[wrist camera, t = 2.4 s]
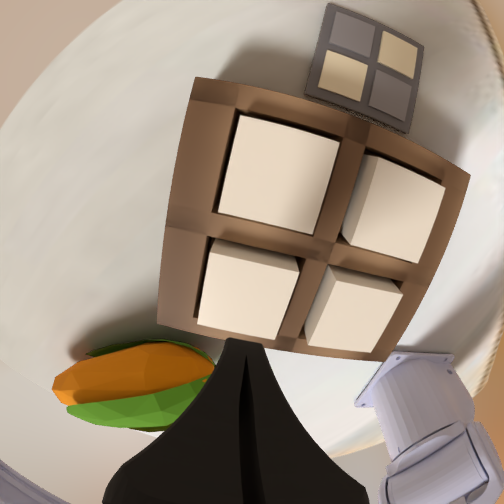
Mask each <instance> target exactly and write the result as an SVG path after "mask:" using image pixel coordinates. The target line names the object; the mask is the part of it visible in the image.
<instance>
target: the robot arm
mask: <svg viewBox="0 0 504 504" xmlns="http://www.w3.org/2000/svg"><path fill="white" fill-rule="evenodd" d="M453 360H454V355H453V354H433V353H413V352H398V351H394V352H392V353H391V354H390V356H389V357H388V359H387V360H386V362H384V363H383V365H382V366H381V367H380V369H379V370H378V372H377V373H376V375H375V376H374V377H373V379H372V380H371V382H370V383H369V384H368V386H367V387H366V388H365V390H364V391H363V392H362V394H361V395H360V396H359V398H358V399H357V400H356V401H355V403H354V405H355V407H374V409H375V412H376V415H377V418H378V421H379V424H380V427H381V430H382V433H383V436H384V439H385V442H386V446H387V449H388V452H389V455H390V459H391V462H392V463H391V464H389V465H387V466H386V471H387V475H386V476H384V477H383V479H382V481H381V483H380V486H379V490H378V503H379V504H495V503H496V501H497V500H498V498H499V496H500V494H501V493H502V491H503V489H504V471H503V469H502V465H501V461H500V459H499V456H498V453H497V451H496V449H495V447H494V445H493V443H492V441H491V439H490V437H489V435H488V433H487V431H486V430H485V428H484V427H483V425H482V424H481V422H474V421H473V419H474V412H475V410H474V409H475V408H474V402H473V399H472V397H471V395H470V394H469V392H468V390H467V389H466V387H465V386H464V384H463V382H462V381H461V379H460V377H459V376H458V374H457V373H456V371H455V370H454V368H453V367H452V365H451V363H452V361H453ZM102 503H103V504H369V498H368V495H367V492H366V489H365V487H364V486H362V485H361V484H360V483H358V482H357V481H356V480H355V479H353V478H352V477H351V476H349V475H348V474H347V473H346V472H344V471H343V470H342V469H341V468H340V467H339V466H338V465H336V463H334V462H333V461H332V460H331V459H330V458H329V456H328V455H327V454H326V453H325V452H324V451H323V450H322V449H321V448H320V447H319V446H318V444H317V443H316V442H315V441H314V440H313V439H312V437H311V436H310V435H309V434H308V432H307V431H306V430H305V428H304V427H303V425H302V424H301V423H300V421H299V420H298V418H297V417H296V415H295V414H294V412H293V410H292V409H291V407H290V405H289V403H288V402H287V400H286V398H285V396H284V394H283V392H282V390H281V388H280V386H279V384H278V382H277V380H276V378H275V376H274V373H273V371H272V369H271V366H270V364H269V361H268V358H267V356H266V353H265V350H264V346H263V345H262V343H257V342H252V341H246V340H241V339H236V338H231V337H229V338H227V339H226V341H225V345H224V349H223V352H222V354H221V356H220V359H219V361H218V363H217V365H216V366H215V368H214V370H213V372H212V373H211V375H210V377H209V378H208V380H207V381H206V383H205V384H204V386H203V387H202V389H201V390H200V392H199V393H198V394H197V396H196V397H195V398H194V400H193V401H192V402H191V403H190V405H189V406H188V407H187V408H186V409H185V411H184V412H183V413H182V414H181V415H180V416H179V417H178V418H177V419H176V420H175V422H174V423H173V424H172V425H171V426H170V427H169V428H168V429H167V430H165V431H164V432H163V433H162V434H161V435H160V436H159V437H158V438H157V439H155V440H154V441H153V442H152V443H151V444H150V445H148V446H147V447H146V448H145V449H143V450H142V451H141V452H139V453H138V454H137V455H135V456H134V457H132V458H131V459H130V460H128V461H127V462H125V463H124V464H123V465H122V466H121V467H120V468H119V470H118V471H117V472H116V473H115V475H114V476H113V477H112V479H111V480H110V482H109V483H108V486H107V487H106V490H105V493H104V497H103V500H102ZM0 504H70V503H68V502H66V501H64V500H62V499H60V498H58V497H57V496H55V495H53V494H51V493H49V492H48V491H46V490H44V489H43V488H41V487H39V486H38V485H36V484H34V483H33V482H31V481H30V480H28V479H27V478H25V477H24V476H22V475H20V474H19V473H18V472H16V471H15V470H13V469H12V468H11V467H9V466H8V465H7V464H5V463H4V462H3V461H1V460H0Z"/></svg>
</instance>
